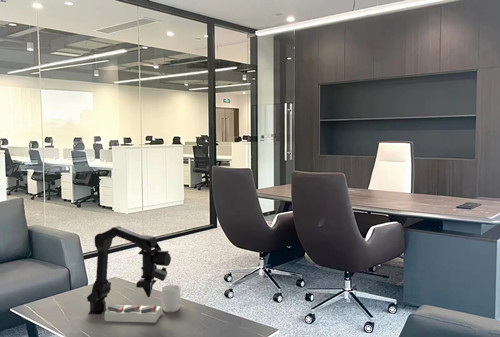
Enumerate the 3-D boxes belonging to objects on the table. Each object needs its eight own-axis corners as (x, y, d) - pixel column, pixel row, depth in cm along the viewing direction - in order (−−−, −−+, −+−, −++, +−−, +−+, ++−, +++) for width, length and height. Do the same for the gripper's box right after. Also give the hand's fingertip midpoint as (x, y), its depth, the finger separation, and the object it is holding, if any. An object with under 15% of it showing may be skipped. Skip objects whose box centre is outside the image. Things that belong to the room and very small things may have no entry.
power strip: (104, 321, 200) (104, 312, 200) (112, 312, 210) (112, 304, 210) (155, 322, 199) (155, 313, 199) (160, 314, 209) (160, 305, 209)
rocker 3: (141, 313, 201) (140, 310, 200) (143, 311, 204) (142, 307, 204) (154, 310, 200) (153, 307, 200) (156, 308, 203) (155, 305, 203)
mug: (172, 314, 209) (173, 291, 209) (158, 311, 213) (158, 289, 213) (186, 306, 220) (186, 284, 220) (172, 303, 224) (172, 282, 224)
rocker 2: (124, 313, 201) (123, 309, 201) (127, 310, 204) (126, 307, 204) (137, 310, 201) (136, 307, 201) (139, 307, 204) (139, 304, 204)
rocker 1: (107, 309, 201) (108, 306, 201) (110, 307, 205) (110, 303, 204) (120, 313, 201) (121, 309, 201) (122, 310, 204) (123, 307, 204)
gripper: (160, 269, 191) (160, 304, 192) (170, 259, 210) (170, 290, 211) (136, 269, 192) (136, 303, 193) (147, 258, 211) (148, 290, 211)
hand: (148, 296), depth 202 cm, fingers closed
